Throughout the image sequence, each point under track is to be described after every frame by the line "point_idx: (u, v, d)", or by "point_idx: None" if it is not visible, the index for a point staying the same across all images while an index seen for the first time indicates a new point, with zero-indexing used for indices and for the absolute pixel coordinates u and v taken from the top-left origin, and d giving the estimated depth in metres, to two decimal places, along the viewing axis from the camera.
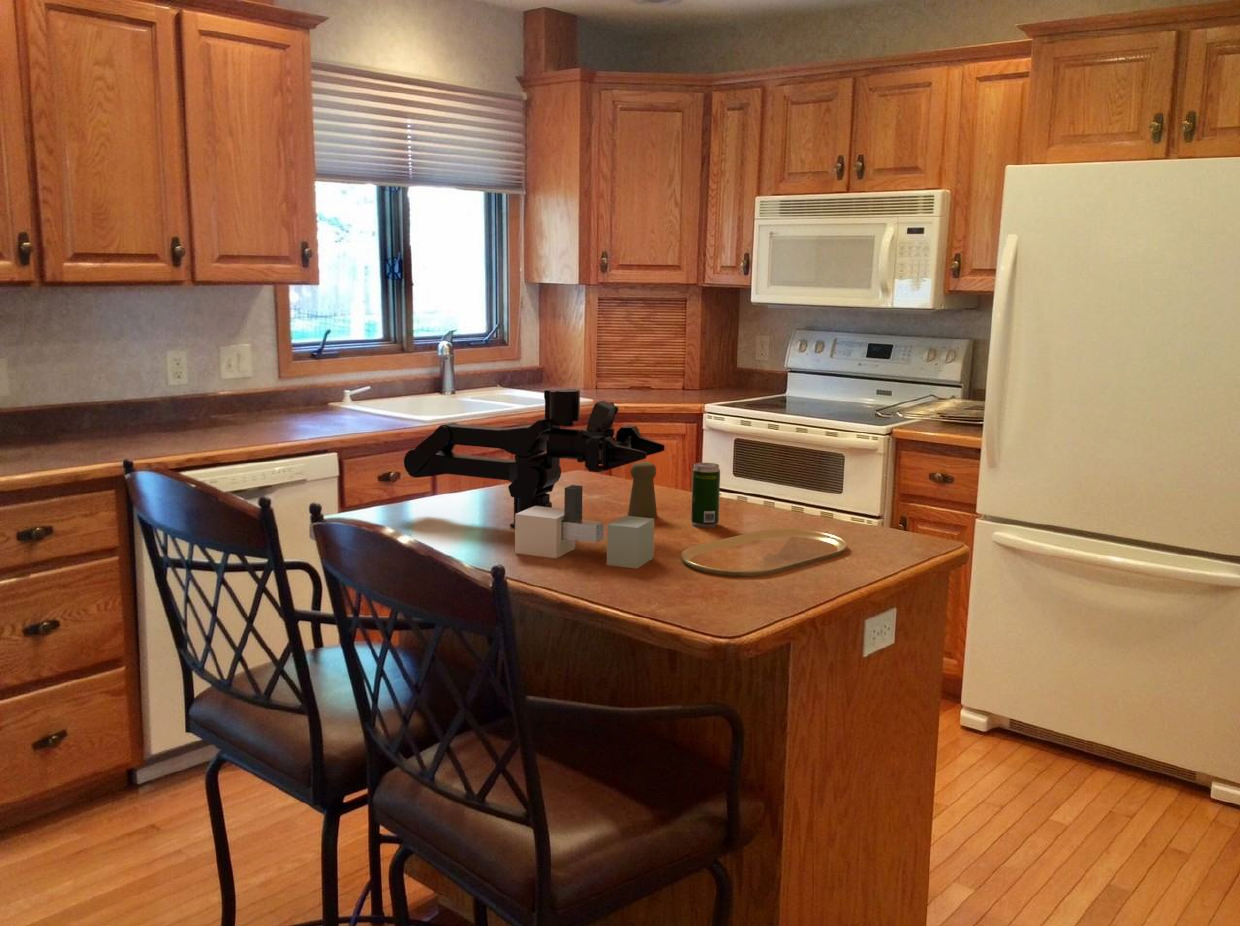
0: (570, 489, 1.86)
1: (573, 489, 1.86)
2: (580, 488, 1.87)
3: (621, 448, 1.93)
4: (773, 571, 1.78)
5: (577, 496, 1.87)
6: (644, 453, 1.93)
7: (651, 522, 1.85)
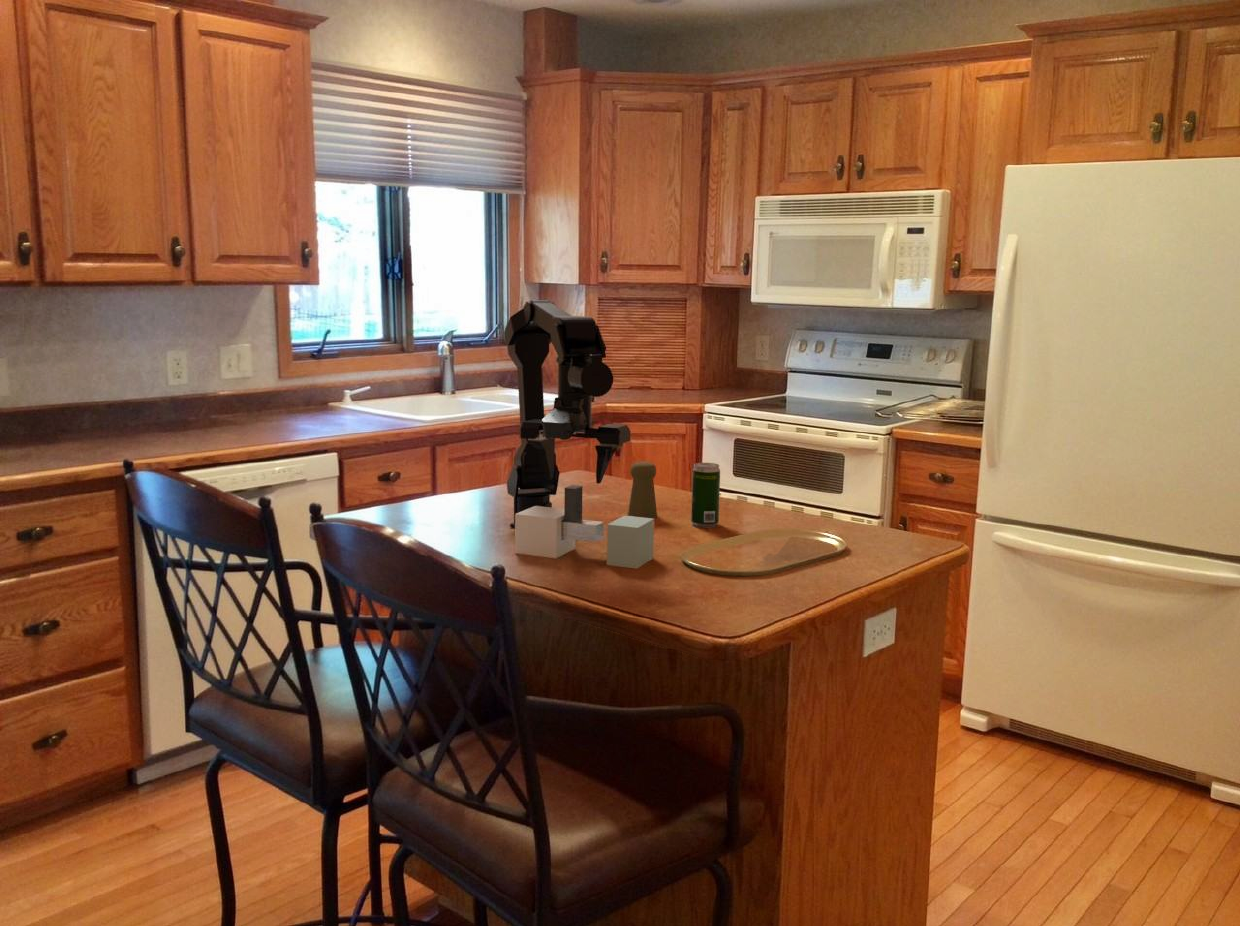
0: (570, 489, 1.86)
1: (573, 489, 1.86)
2: (580, 488, 1.87)
3: (539, 455, 1.88)
4: (773, 571, 1.78)
5: (577, 496, 1.87)
6: (548, 477, 1.88)
7: (651, 522, 1.85)
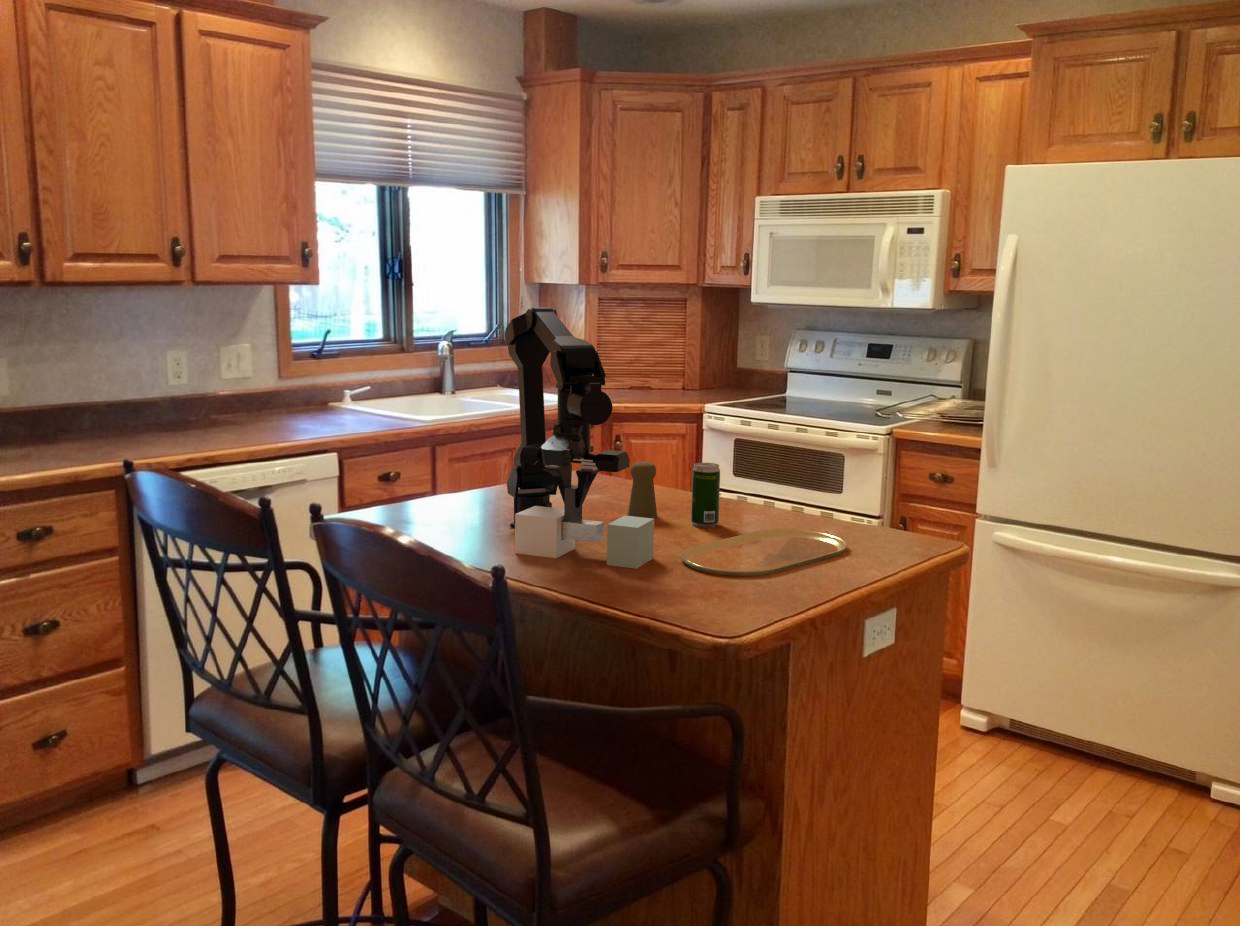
0: (570, 489, 1.86)
1: (573, 489, 1.86)
2: None
3: (557, 482, 1.87)
4: (773, 571, 1.78)
5: None
6: None
7: (651, 522, 1.85)
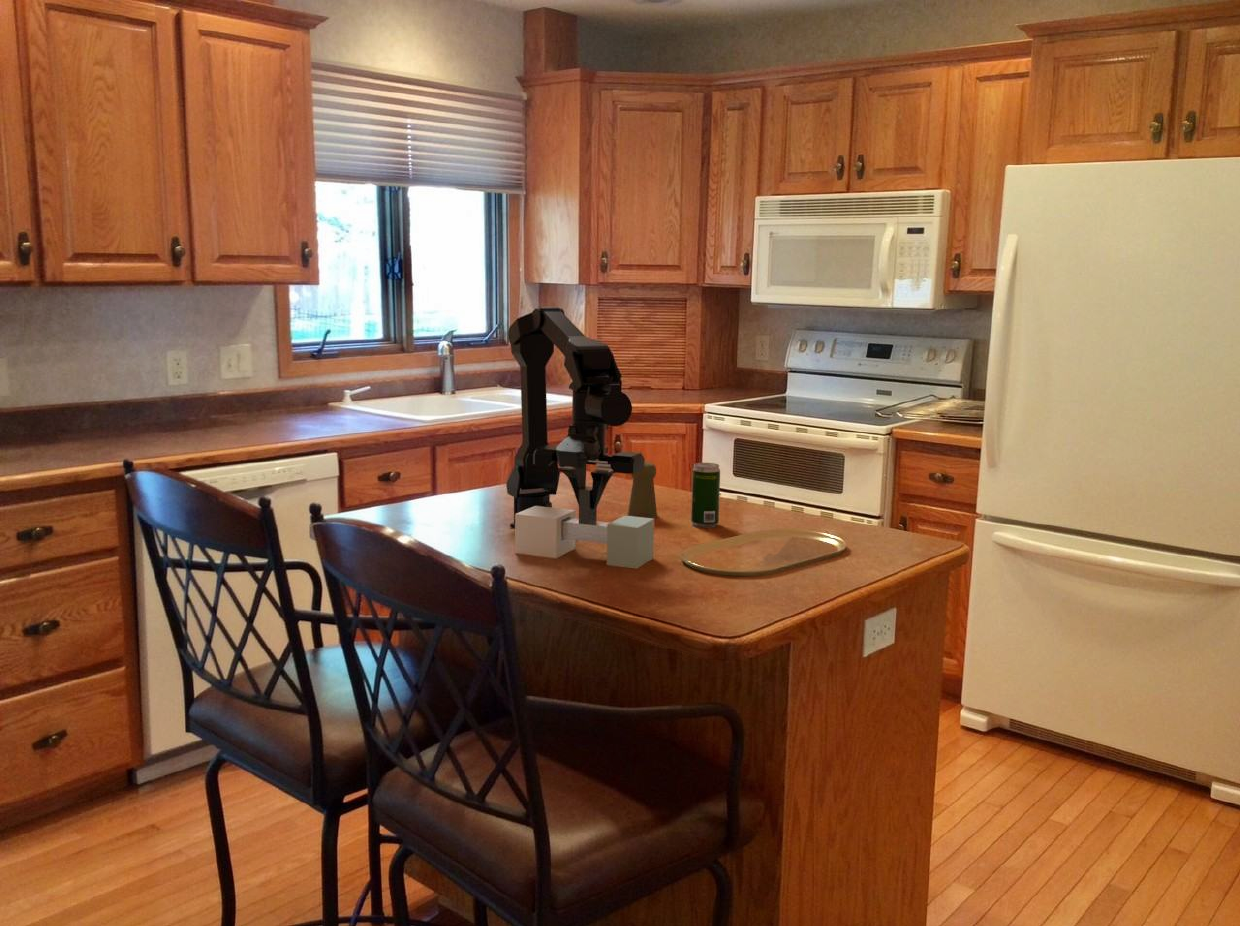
0: (585, 490, 1.85)
1: (588, 490, 1.85)
2: None
3: (571, 484, 1.86)
4: (772, 571, 1.78)
5: None
6: None
7: (651, 522, 1.85)
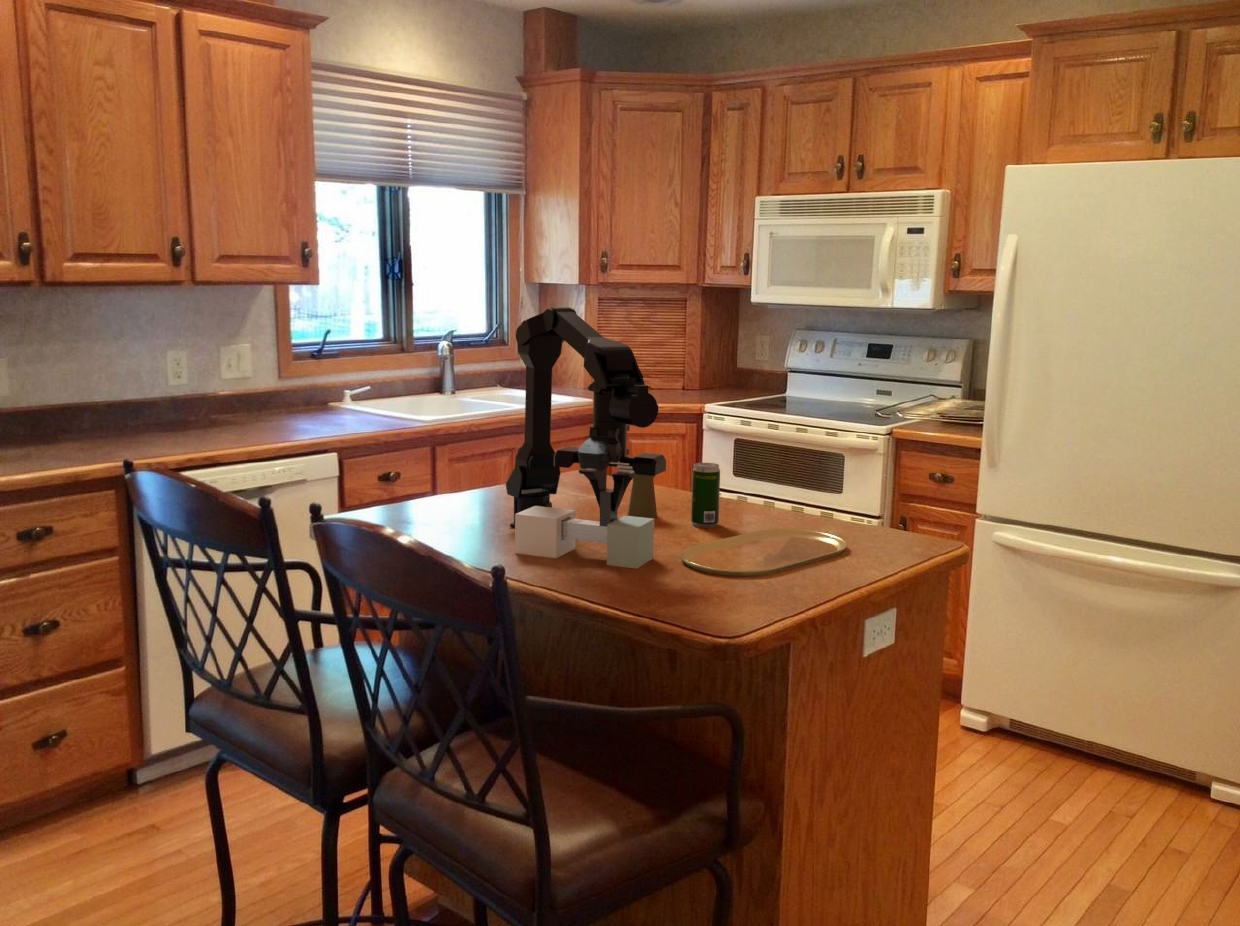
0: (606, 493, 1.83)
1: (609, 493, 1.83)
2: None
3: (592, 486, 1.84)
4: (772, 571, 1.78)
5: None
6: None
7: (651, 522, 1.85)
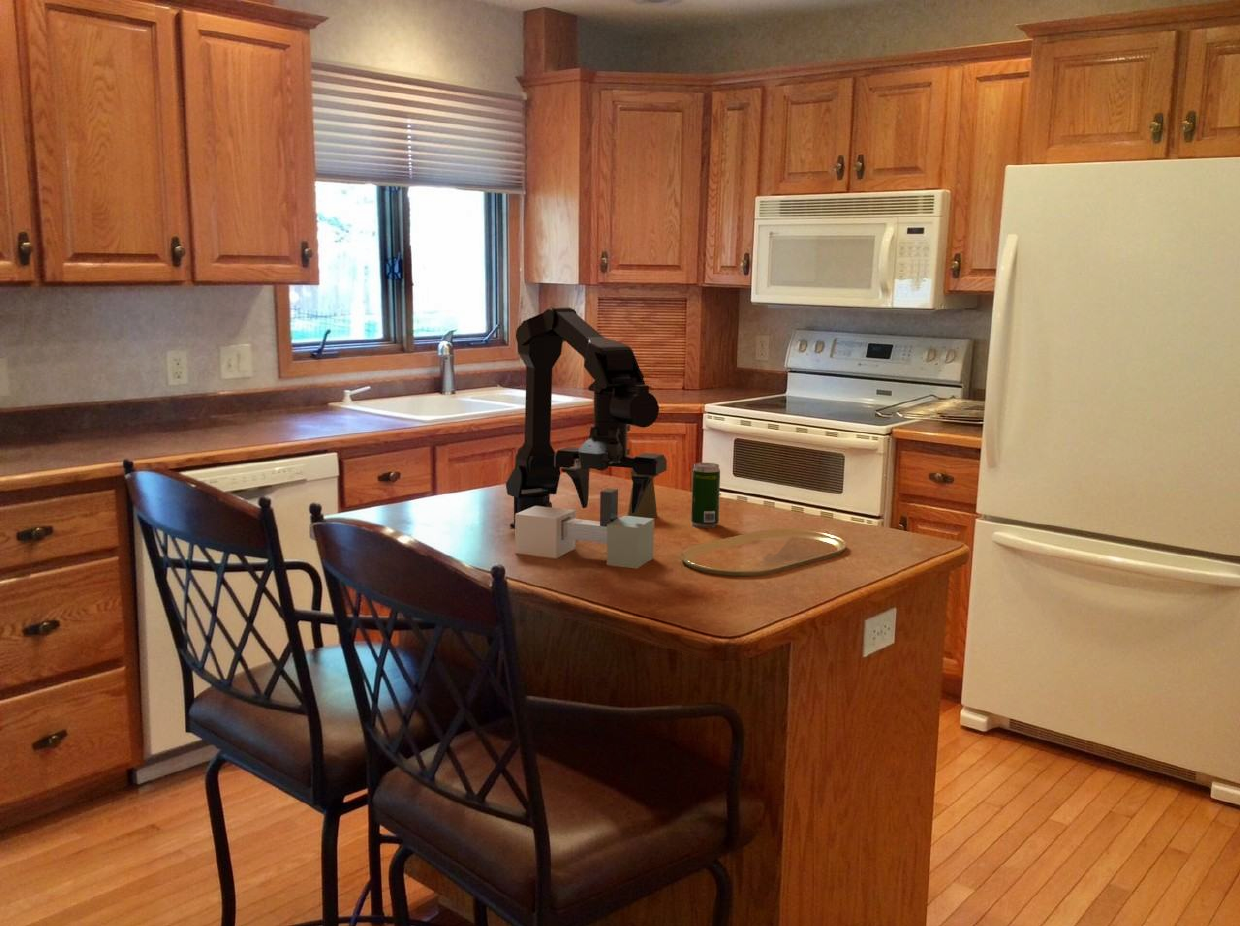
0: (606, 493, 1.83)
1: (609, 493, 1.83)
2: (616, 492, 1.85)
3: (574, 484, 1.86)
4: (772, 571, 1.78)
5: (613, 500, 1.84)
6: (582, 506, 1.87)
7: (651, 522, 1.85)
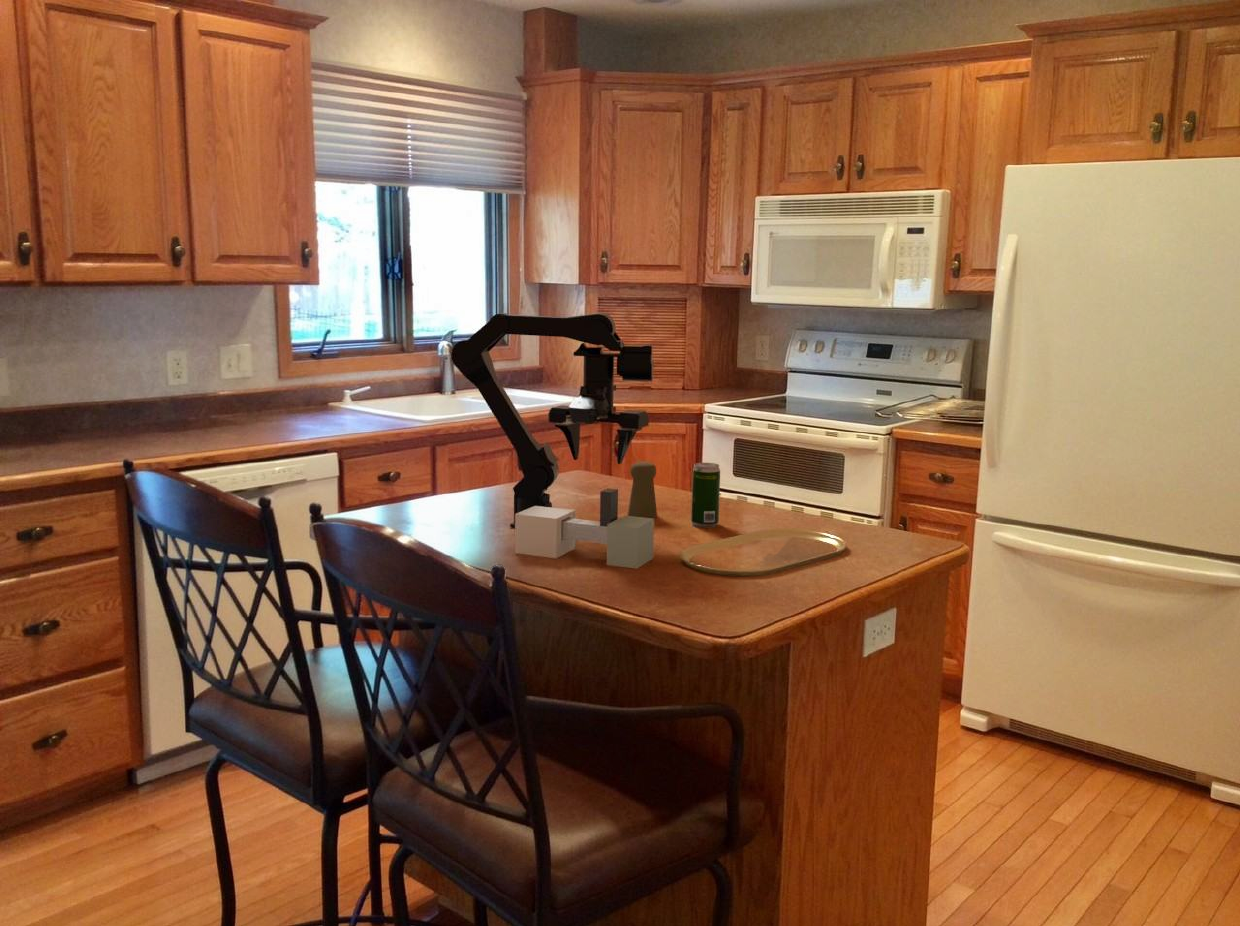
0: (606, 493, 1.83)
1: (609, 493, 1.83)
2: (616, 492, 1.85)
3: (566, 438, 2.07)
4: (772, 571, 1.78)
5: (613, 500, 1.84)
6: (574, 458, 2.08)
7: (651, 522, 1.85)
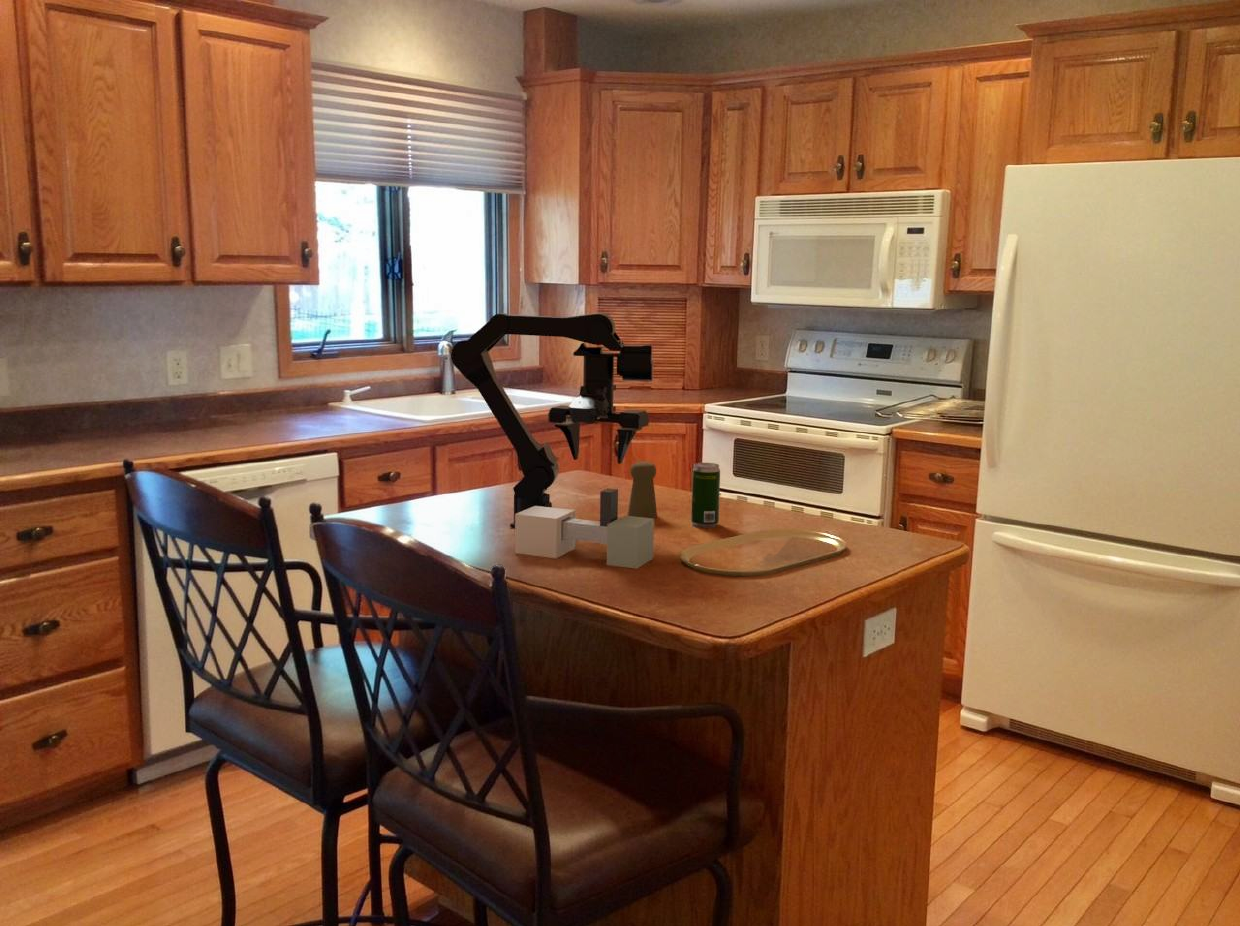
0: (606, 493, 1.83)
1: (609, 493, 1.83)
2: (616, 492, 1.85)
3: (566, 438, 2.07)
4: (772, 571, 1.78)
5: (613, 500, 1.84)
6: (573, 458, 2.08)
7: (651, 522, 1.85)
